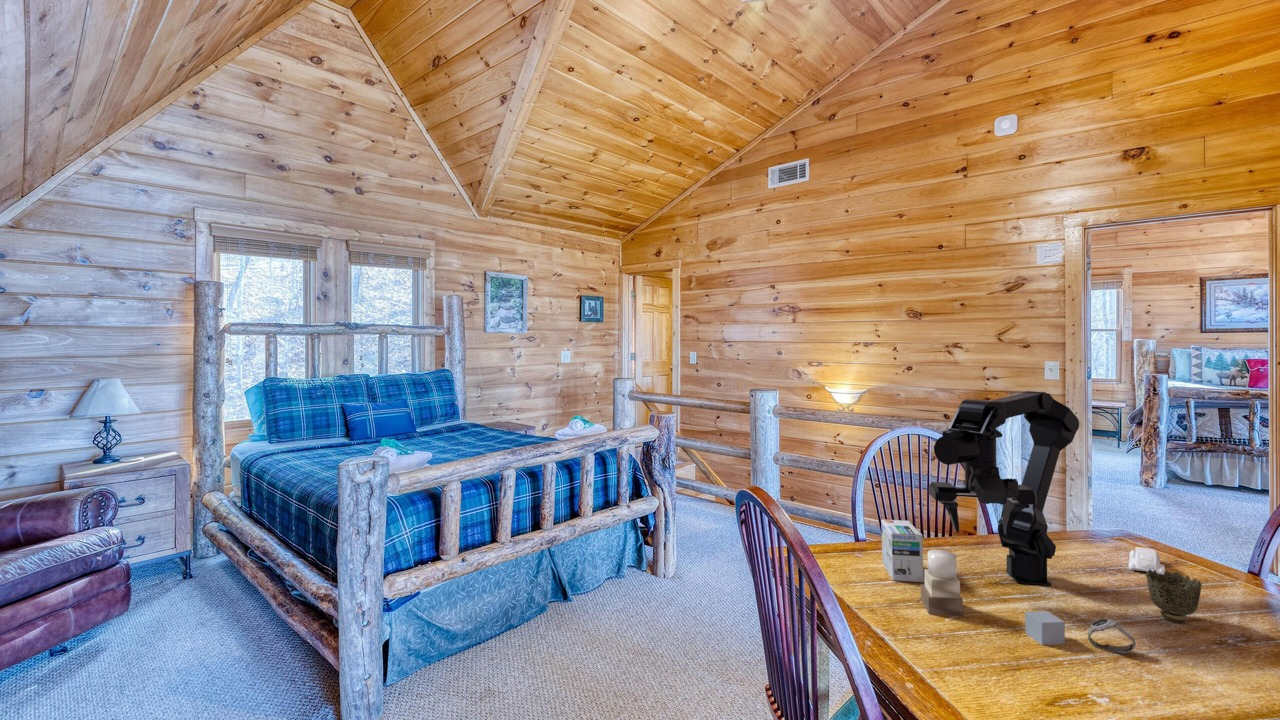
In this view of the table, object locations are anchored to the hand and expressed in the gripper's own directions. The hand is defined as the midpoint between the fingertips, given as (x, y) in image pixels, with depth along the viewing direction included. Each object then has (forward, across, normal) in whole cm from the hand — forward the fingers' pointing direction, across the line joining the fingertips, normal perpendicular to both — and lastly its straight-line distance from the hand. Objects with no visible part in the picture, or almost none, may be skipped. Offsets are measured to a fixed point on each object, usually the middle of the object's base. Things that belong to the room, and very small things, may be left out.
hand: (981, 533), depth 115 cm
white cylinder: (+6, -10, -9) cm, 15 cm away
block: (+13, +4, -18) cm, 22 cm away
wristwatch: (+13, +13, -20) cm, 27 cm away
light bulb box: (+13, -14, +8) cm, 21 cm away
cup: (+13, +30, -6) cm, 33 cm away
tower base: (+13, -10, -9) cm, 19 cm away
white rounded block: (+13, +41, +21) cm, 48 cm away
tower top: (+9, -10, -9) cm, 17 cm away
